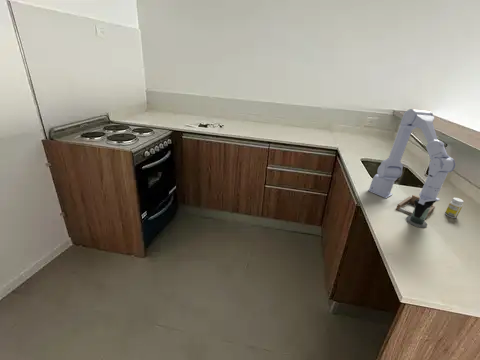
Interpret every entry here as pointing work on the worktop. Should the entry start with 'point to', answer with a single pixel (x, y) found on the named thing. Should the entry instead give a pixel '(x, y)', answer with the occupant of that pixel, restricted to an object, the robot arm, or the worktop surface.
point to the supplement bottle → (454, 207)
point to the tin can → (422, 218)
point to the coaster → (415, 223)
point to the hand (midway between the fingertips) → (419, 214)
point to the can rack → (411, 200)
